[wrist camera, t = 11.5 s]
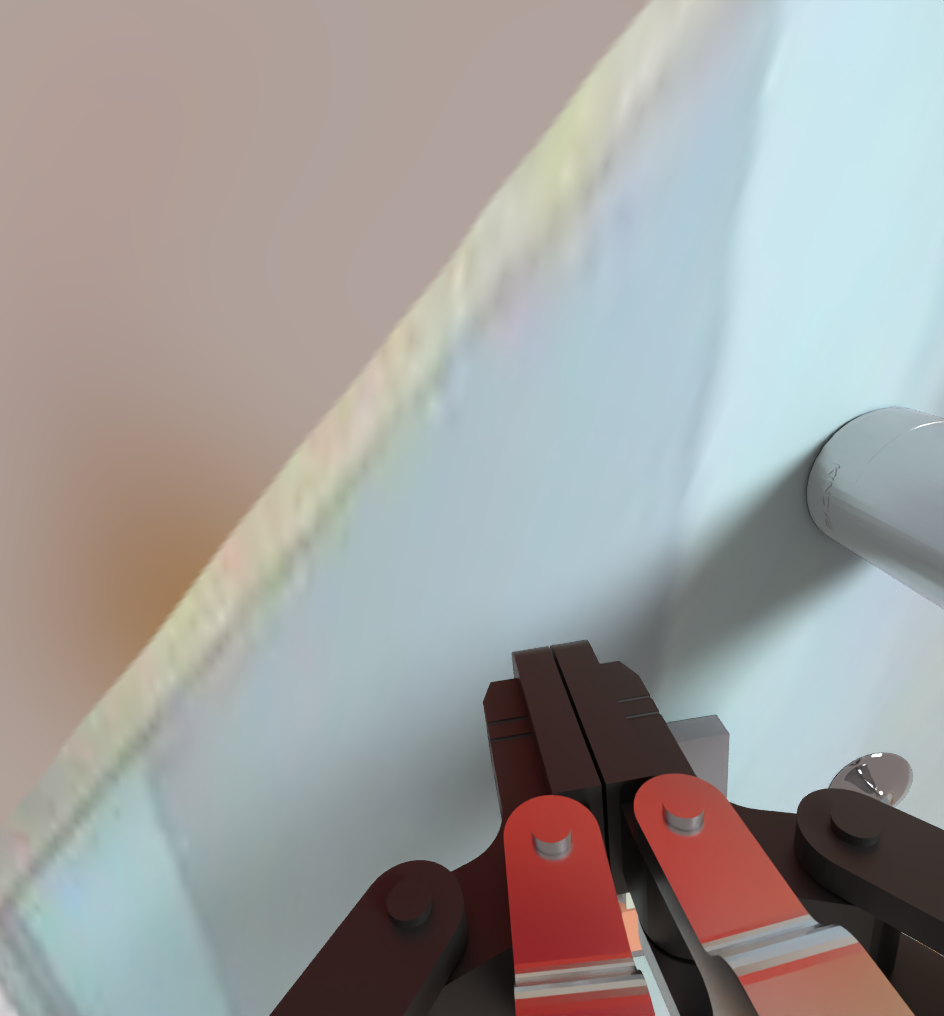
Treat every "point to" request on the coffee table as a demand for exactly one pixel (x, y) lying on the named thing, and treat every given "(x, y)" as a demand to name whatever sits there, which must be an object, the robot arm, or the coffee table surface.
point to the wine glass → (877, 778)
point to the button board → (702, 755)
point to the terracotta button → (631, 926)
